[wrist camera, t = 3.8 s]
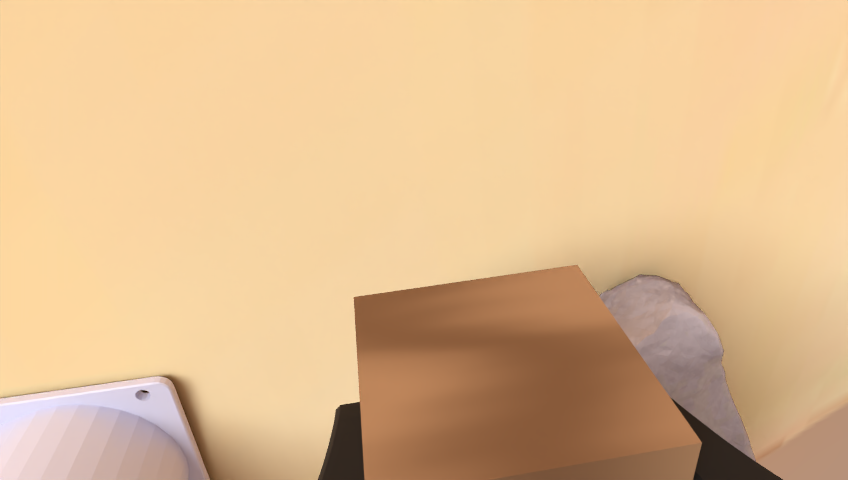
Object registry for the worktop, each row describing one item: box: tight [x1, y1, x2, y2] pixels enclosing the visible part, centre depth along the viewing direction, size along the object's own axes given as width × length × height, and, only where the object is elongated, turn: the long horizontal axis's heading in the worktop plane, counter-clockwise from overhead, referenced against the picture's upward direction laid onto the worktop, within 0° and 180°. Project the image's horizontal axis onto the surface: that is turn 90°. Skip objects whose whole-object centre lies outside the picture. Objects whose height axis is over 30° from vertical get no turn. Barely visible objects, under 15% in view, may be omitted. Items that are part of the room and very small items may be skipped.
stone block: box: [599, 275, 756, 462], centre depth 24 cm, size 12×5×10 cm
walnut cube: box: [354, 265, 702, 480], centre depth 12 cm, size 5×5×5 cm
